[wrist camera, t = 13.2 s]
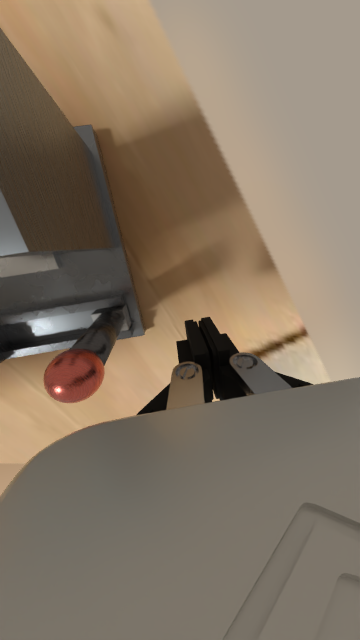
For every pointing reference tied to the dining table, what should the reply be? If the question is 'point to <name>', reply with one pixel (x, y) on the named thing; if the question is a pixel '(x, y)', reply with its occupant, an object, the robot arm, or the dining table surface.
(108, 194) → the press
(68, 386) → the lever
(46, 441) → the dining table surface
